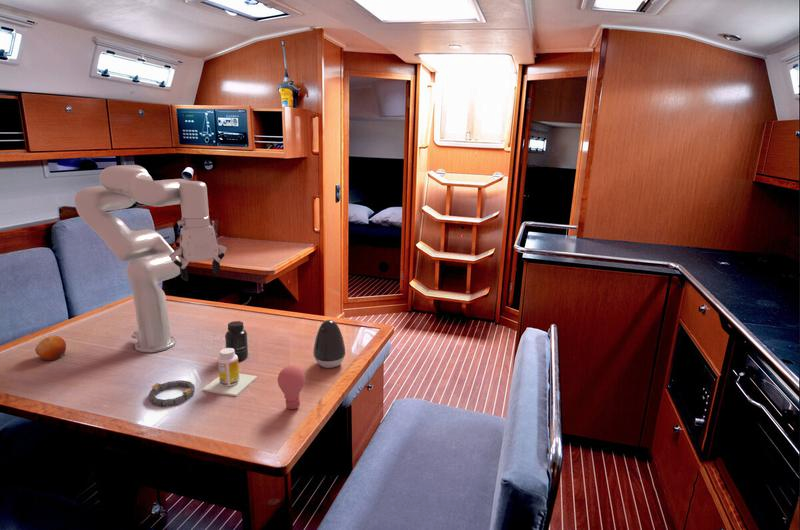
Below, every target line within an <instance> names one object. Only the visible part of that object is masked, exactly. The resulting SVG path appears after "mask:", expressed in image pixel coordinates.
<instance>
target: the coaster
mask: <svg viewBox="0 0 800 530" xmlns="http://www.w3.org/2000/svg"><path fill="white" fill-rule="evenodd" d="M239 377H240V380H239V382H238V383H237V384H235V385H233V386H223V385H221V384H220V379H219V376H218V377H216V378H215V379H214V380H212V381H211V382H209V383H208V384H207V385H206V386H205V387H203V388H202V391H203V392H206V391H207V392H209V393H212V394H219V395H225V396H230V395H231V397H236V396H237V397H238V396H239V395H240V394H241V393H243V392H244V391H245V390H246V389H247V388H248V387H249V386H250V385H251V384H253V383H254V382H255V381H256V380H257V379H258V376H257V375H251V374H245V373H240V372H239ZM256 378H257V379H256ZM255 379H256V380H255ZM254 380H255V381H254ZM253 381H254V382H253ZM248 385H249V386H248ZM247 386H248V387H247ZM246 387H247V388H246ZM245 388H246V389H245ZM244 389H245V390H244Z"/></svg>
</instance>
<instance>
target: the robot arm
mask: <svg viewBox="0 0 800 530" xmlns="http://www.w3.org/2000/svg"><path fill="white" fill-rule="evenodd" d="M99 182H100V184H101V185H95V186H88V187H84V188H82V189H80V190H79V191H78V192H76V194H75V196H74V206H75V209H76V212H77V214H78V216H79V217H80V219H81V220H82V221H83V222H84V224H85V225H87V226H88V227H89V228H91V229H92V231H94V232H95V233H96V234H97V235H98V236H99V237H100V239H101V240H102V241H103V242H104V244H105V245H106V246H107V247H108V248H109V249H110V251H111V252H112V253H113V254H114V255H115V256H116V257H117V258H118V260H120V261H123V262H129V263H128V264H127V266H126V277H127V278H128V282H129V284H130V288H131V291H132V296H133V304H134V310H135V316H136V324H137V329H135V330H134V331H133V334H131V336H130V337H131V339H135V340H136V343H135V345H134V349H135V350H136V351H137V352H140V353H145V352H146V353H145V354H147V353H157V352H162V351H165V350H168V349H170V348H172V347H173V346H175V344H176V342H177V339H176V337H175V336H173V335H171V331H170V320H169V314H168V304H167V296H166V293H165V291H164V290H163V289H162V288H161V286H159V283H161V282H164V281H167V280H170V279H173V278H174V279H175V278H176V277H178V276H179V275H180V278H181V279H182V281H185V282H188V281H189V280H190V279H189V278H190V277H189V270H188V268H187V266H188V264H189V263H196V262H200V261H206V260H207V261H209V260H211V259H212V263H211V266H212V273H213V274H214V275H216V276H219V275H220V272H221V266H220V265H221V262H222V260H223V258H224V257H225V254H226V252H227V249H228V248H227V246H224V245H222V244H218V242H217V241H218V240H217V237H216V232H215V228H214V226H213V225H210V224H211V223H210V214H209V212H210V211H209V210H210V209H209V199H208V187H207V184H206V183H205V182H203V181H199V180H189V179H185V178H174V179H171V178H170V179H161V180H154V179H153V178H152V176H151V175H150V174H149V172H148V170H147V169H146V168H145V167H143V166H141V165H138V164H127V165H126V164H125V165H124V164H122V165H111V166H108V167H105V168H104V169H103V170H102V171H101V172H100V174H99ZM136 202H137V203H138V204H140V205H141V204H142V205H146V206H150V207H157V208H158V207H160V208H161V207H166V206H173V205H180V209H181V210H180V211H181V218H180V219H181V220H177V225H178V226H182V227H181V228H180V234H179V248H177V249H176V250H174V249H173V248H172V247H171V245H170V244H168V242H167V240H166V239H164V237H163V236H162V235H161V234H160V233H159V232H157V231H156V230H153V229H150V228H149V229H140V230H132V229H130V228H129V226H127V225H126V223H125V222H124V221H123V220H122V219H121V218H119V217H117V216H116V215H114V214H112V213H109V211H115V210H117V211H118V210H123V209H128V208H130V207H132V206H133V205H134V204H135V203H136Z"/></svg>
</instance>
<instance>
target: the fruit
mask: <svg viewBox="0 0 800 530" xmlns="http://www.w3.org/2000/svg"><path fill="white" fill-rule="evenodd" d="M66 349H67V343H66V341H65V340H64V338H63V337H60V336H58V335H50V336H48V337H45V338H43V339H42V340H41V341H39V342H38V344H37V345H36V346H35V348H34V351H35V353H36V355H37V356H38V357H39V358H40V359H43V360H45V361H55V360H58V359H60V358H61V357H65V356H66V355H65V354H66Z"/></svg>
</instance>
